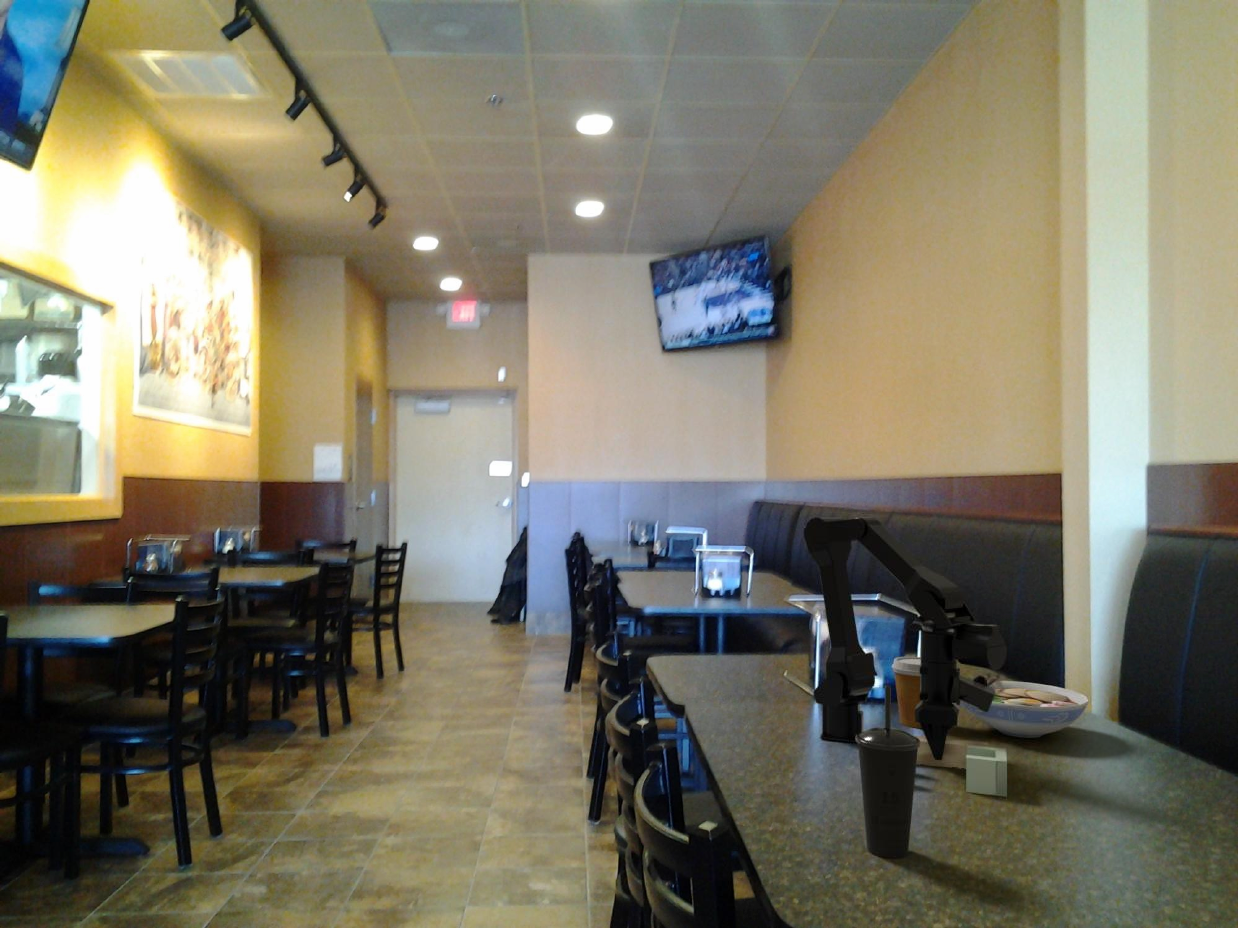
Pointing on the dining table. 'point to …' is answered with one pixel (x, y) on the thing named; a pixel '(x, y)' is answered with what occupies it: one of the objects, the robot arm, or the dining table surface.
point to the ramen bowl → (1029, 708)
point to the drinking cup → (887, 785)
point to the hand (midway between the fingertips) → (938, 756)
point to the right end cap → (986, 770)
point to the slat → (946, 753)
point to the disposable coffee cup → (908, 688)
